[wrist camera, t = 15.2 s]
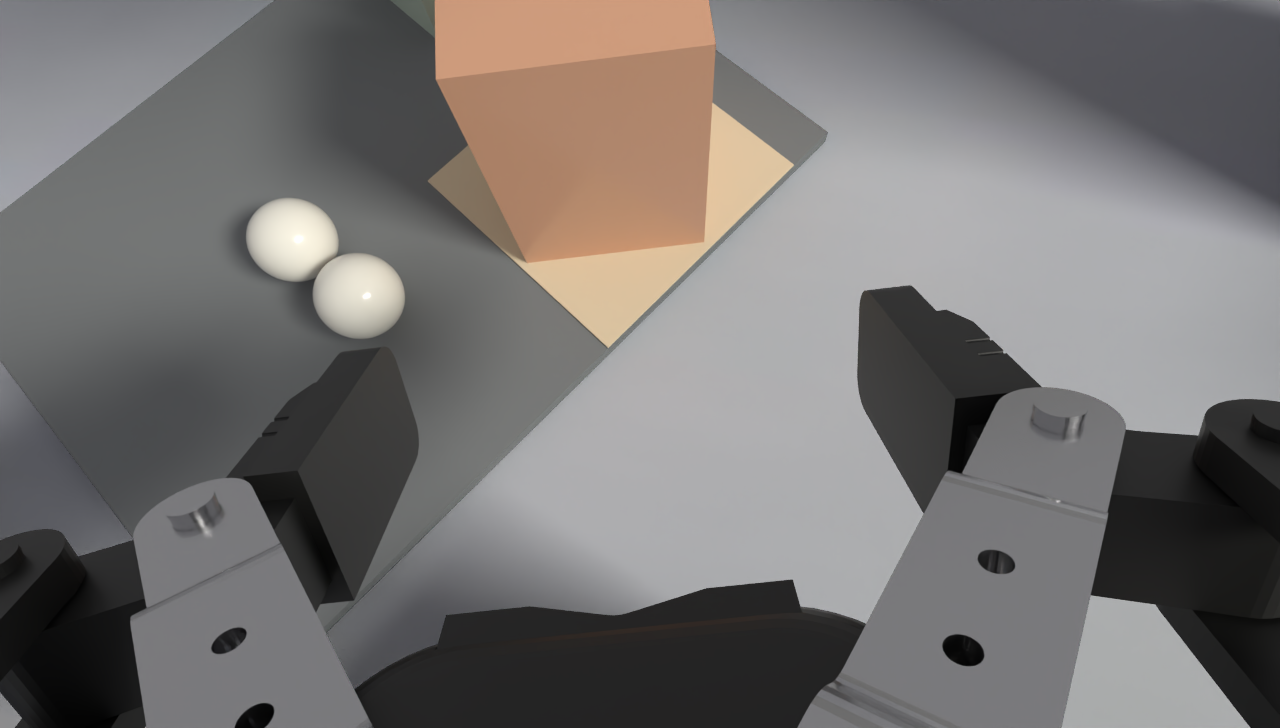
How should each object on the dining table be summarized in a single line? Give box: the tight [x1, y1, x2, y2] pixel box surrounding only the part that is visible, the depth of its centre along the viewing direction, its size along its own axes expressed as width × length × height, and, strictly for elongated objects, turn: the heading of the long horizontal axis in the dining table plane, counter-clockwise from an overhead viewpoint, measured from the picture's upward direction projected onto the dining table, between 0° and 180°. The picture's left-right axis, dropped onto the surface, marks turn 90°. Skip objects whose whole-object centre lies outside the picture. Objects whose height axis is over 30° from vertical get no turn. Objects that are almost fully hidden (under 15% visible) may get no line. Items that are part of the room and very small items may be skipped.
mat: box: [0, 0, 828, 632], centre depth 28 cm, size 28×22×1 cm
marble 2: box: [313, 253, 405, 339], centre depth 24 cm, size 3×3×3 cm
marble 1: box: [246, 198, 339, 282], centre depth 25 cm, size 3×3×3 cm
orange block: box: [435, 0, 716, 263], centre depth 22 cm, size 7×7×10 cm
